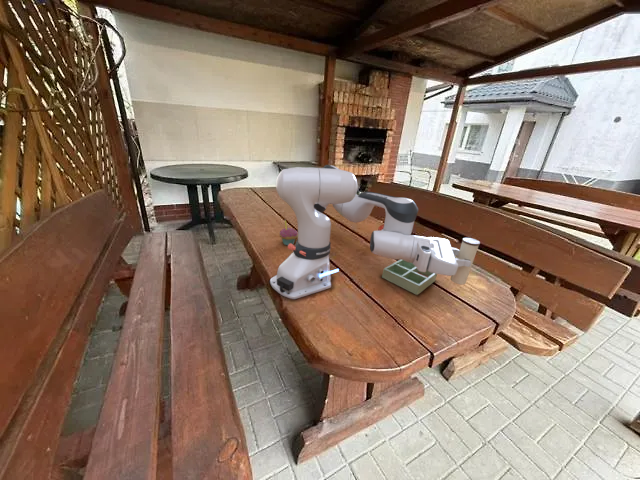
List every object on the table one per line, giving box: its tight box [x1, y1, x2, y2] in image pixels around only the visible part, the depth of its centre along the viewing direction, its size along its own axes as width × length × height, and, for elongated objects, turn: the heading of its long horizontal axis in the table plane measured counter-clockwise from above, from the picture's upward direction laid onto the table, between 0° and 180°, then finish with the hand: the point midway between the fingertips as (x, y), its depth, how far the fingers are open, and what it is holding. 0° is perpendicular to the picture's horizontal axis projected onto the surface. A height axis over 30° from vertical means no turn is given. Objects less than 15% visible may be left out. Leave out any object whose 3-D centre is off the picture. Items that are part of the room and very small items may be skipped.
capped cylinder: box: [450, 237, 481, 286], centre depth 80 cm, size 5×5×14 cm
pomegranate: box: [377, 223, 384, 231], centre depth 134 cm, size 7×7×10 cm
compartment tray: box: [381, 259, 438, 296], centre depth 98 cm, size 14×14×4 cm
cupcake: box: [278, 220, 298, 246], centre depth 119 cm, size 9×8×12 cm
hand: (468, 259), depth 80 cm, fingers closed on capped cylinder, 4 cm apart
